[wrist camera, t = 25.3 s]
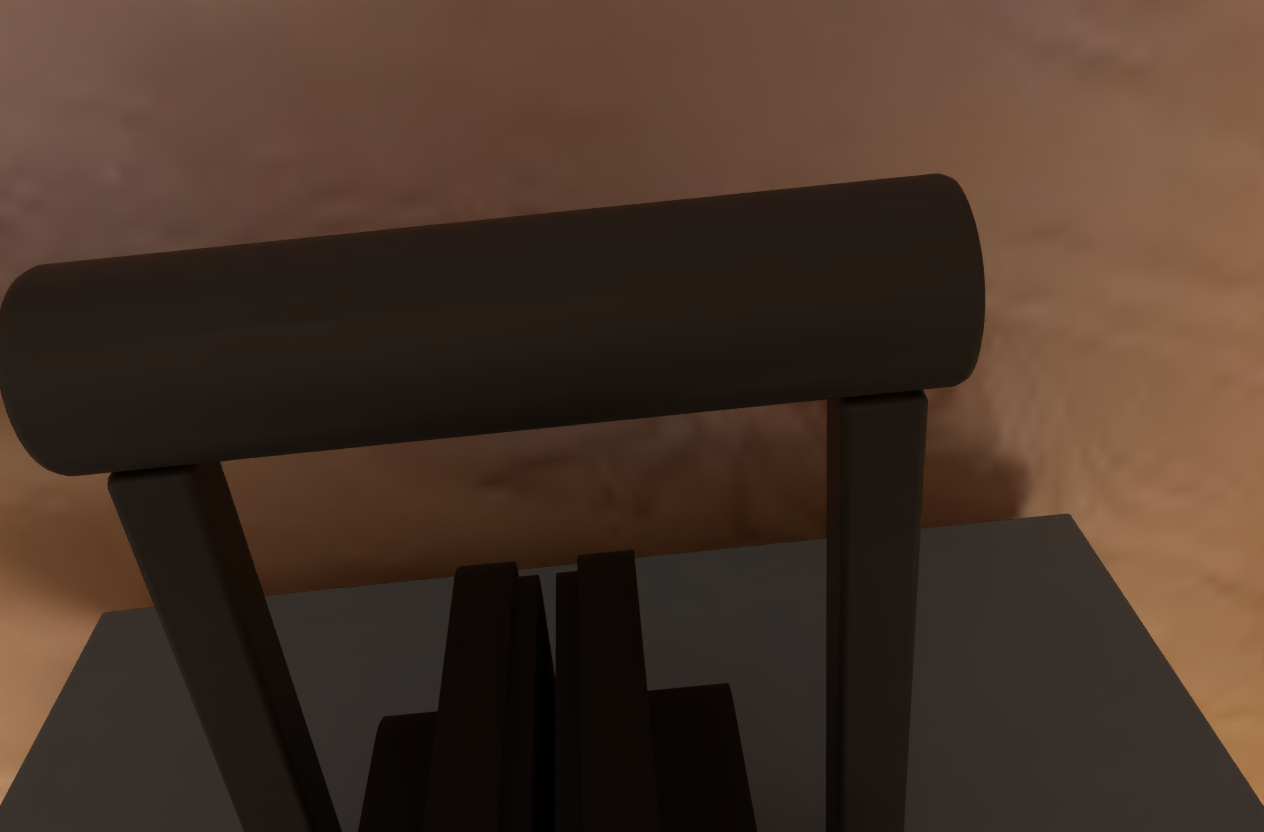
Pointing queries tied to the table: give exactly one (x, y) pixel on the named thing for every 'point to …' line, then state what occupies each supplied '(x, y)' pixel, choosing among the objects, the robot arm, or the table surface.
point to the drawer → (667, 584)
